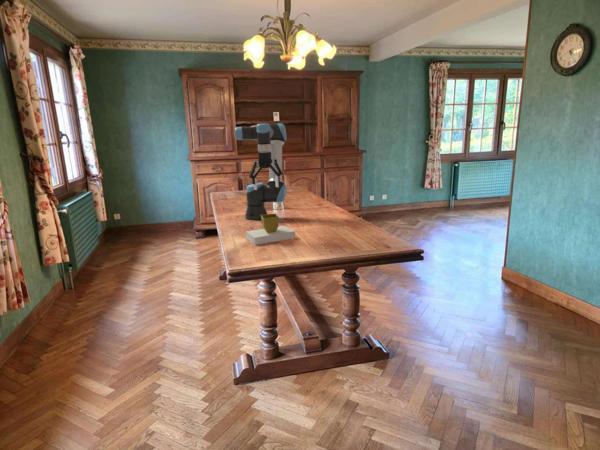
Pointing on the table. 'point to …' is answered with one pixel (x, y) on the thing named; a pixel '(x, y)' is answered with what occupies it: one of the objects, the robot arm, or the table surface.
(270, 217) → the flower pot
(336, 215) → the table surface
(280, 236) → the white stand
